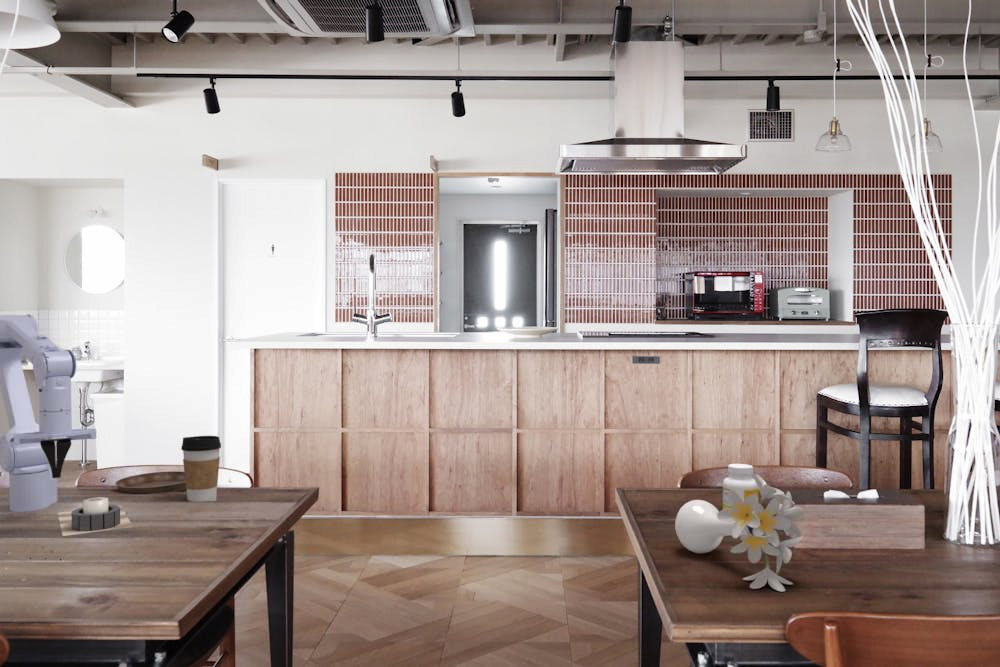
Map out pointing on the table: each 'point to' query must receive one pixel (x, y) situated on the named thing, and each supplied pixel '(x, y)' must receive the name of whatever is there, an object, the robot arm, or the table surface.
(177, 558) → the table surface
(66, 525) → the mount plate
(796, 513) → the flower vase
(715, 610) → the table surface
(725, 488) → the supplement bottle
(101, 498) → the white cylinder
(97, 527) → the dark grey segmented ring
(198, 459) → the coffee cup
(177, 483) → the plant saucer
